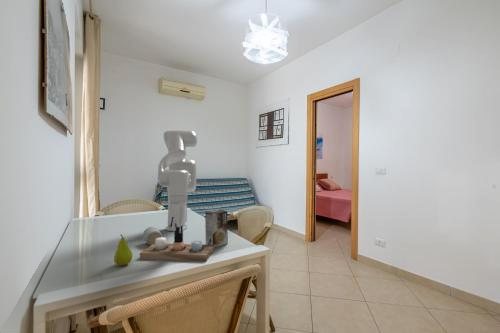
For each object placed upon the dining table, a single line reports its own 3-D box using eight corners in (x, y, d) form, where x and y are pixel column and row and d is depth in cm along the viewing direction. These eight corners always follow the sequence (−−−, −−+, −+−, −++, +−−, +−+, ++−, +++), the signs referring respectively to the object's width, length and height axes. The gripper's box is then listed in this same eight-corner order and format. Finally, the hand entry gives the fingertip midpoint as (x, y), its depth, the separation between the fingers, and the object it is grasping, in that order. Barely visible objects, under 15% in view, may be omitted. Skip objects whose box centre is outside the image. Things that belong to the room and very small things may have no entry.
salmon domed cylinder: (176, 249, 100) (176, 240, 101) (185, 249, 100) (185, 240, 100) (171, 252, 96) (171, 243, 96) (181, 253, 96) (181, 243, 96)
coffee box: (220, 240, 116) (220, 209, 116) (228, 243, 111) (228, 210, 112) (204, 245, 110) (204, 211, 110) (212, 248, 105) (212, 213, 105)
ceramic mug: (147, 247, 106) (147, 231, 107) (142, 243, 113) (142, 227, 113) (169, 243, 113) (169, 227, 113) (164, 239, 120) (164, 224, 120)
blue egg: (193, 249, 100) (193, 240, 100) (203, 250, 99) (203, 240, 99) (189, 253, 95) (189, 244, 95) (200, 254, 95) (200, 244, 95)
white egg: (158, 246, 101) (158, 237, 101) (168, 246, 101) (168, 237, 101) (153, 249, 97) (153, 240, 97) (163, 250, 97) (163, 240, 97)
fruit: (136, 262, 90) (136, 231, 90) (124, 269, 84) (124, 236, 84) (122, 260, 92) (122, 230, 92) (109, 267, 86) (109, 235, 86)
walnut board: (155, 248, 106) (155, 243, 106) (214, 250, 102) (214, 244, 102) (139, 258, 94) (139, 252, 94) (206, 261, 91) (206, 255, 91)
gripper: (177, 196, 106) (177, 236, 106) (161, 201, 91) (161, 247, 91) (193, 197, 105) (193, 237, 105) (179, 201, 90) (179, 248, 90)
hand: (178, 241), depth 98 cm, fingers closed
